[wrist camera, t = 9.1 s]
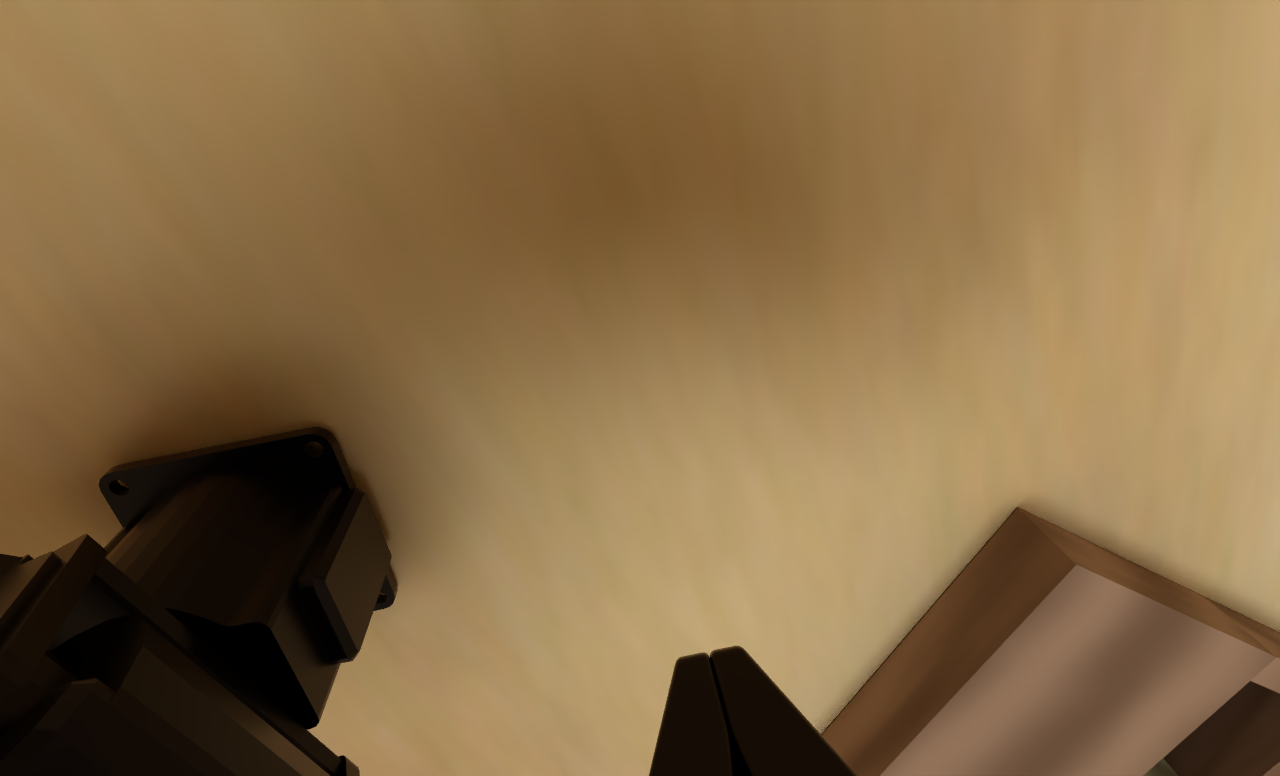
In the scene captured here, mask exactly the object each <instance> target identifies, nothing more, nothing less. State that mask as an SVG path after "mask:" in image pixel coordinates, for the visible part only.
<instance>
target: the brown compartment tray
mask: <svg viewBox="0 0 1280 776" xmlns="http://www.w3.org/2000/svg"><path fill="white" fill-rule="evenodd" d="M821 736H822V737H823V738H824V739H825V740H826V741H827V742H828V743H829V745H830V746H831V747H832V748H833V749H834V750H835V751H836V752H837V753H838V755H839V756H840V757H841V758H842V759H843V760H844V761H845V762H846V764H847V765H848V766H849V767H850V768H851V769H852V770H853V771H854V773H855V774H856V775H857V776H1280V633H1278V632H1276V631H1274V630H1272V629H1270V628H1268V627H1266V626H1264V625H1262V624H1260V623H1258V622H1255V621H1253V620H1251V619H1249V618H1247V617H1245V616H1243V615H1241V614H1239V613H1237V612H1235V611H1233V610H1230V609H1228V608H1226V607H1224V606H1222V605H1220V604H1218V603H1216V602H1214V601H1212V600H1210V599H1207V598H1205V597H1203V596H1201V595H1199V594H1197V593H1195V592H1193V591H1191V590H1189V589H1187V588H1185V587H1182V586H1180V585H1178V584H1176V583H1174V582H1172V581H1170V580H1168V579H1166V578H1164V577H1162V576H1159V575H1157V574H1155V573H1153V572H1151V571H1149V570H1147V569H1145V568H1143V567H1141V566H1139V565H1137V564H1134V563H1132V562H1130V561H1128V560H1126V559H1124V558H1122V557H1120V556H1118V555H1116V554H1114V553H1111V552H1109V551H1107V550H1105V549H1103V548H1101V547H1099V546H1097V545H1095V544H1093V543H1091V542H1088V541H1086V540H1084V539H1082V538H1080V537H1078V536H1076V535H1074V534H1072V533H1070V532H1068V531H1066V530H1063V529H1061V528H1059V527H1057V526H1055V525H1053V524H1051V523H1049V522H1047V521H1045V520H1043V519H1040V518H1038V517H1036V516H1034V515H1032V514H1030V513H1028V512H1026V511H1024V510H1022V509H1020V508H1017V509H1016V510H1015V512H1014V513H1013V514H1012V515H1011V516H1010V517H1009V518H1008V520H1007V521H1006V522H1005V523H1004V524H1003V525H1002V527H1001V528H1000V529H999V530H998V531H997V532H996V534H995V535H994V536H993V537H992V538H991V539H990V541H989V542H988V543H987V544H986V545H985V546H984V547H983V549H982V550H981V551H980V552H979V553H978V554H977V556H976V557H975V558H974V559H973V560H972V561H971V563H970V564H969V565H968V566H967V567H966V568H965V570H964V571H963V572H962V573H961V574H960V575H959V576H958V578H957V579H956V580H955V581H954V582H953V583H952V585H951V586H950V587H949V588H948V589H947V590H946V592H945V593H944V594H943V595H942V596H941V597H940V599H939V600H938V601H937V602H936V603H935V604H934V605H933V607H932V608H931V609H930V610H929V611H928V612H927V614H926V615H925V616H924V617H923V618H922V619H921V621H920V622H919V623H918V624H917V625H916V626H915V628H914V629H913V630H912V631H911V632H910V633H909V634H908V636H907V637H906V638H905V639H904V640H903V641H902V643H901V644H900V645H899V646H898V647H897V648H896V650H895V651H894V652H893V653H892V654H891V655H890V657H889V658H888V659H887V660H886V661H885V662H884V663H883V665H882V666H881V667H880V668H879V669H878V670H877V672H876V673H875V674H874V675H873V676H872V677H871V679H870V680H869V681H868V682H867V683H866V684H865V686H864V687H863V688H862V689H861V690H860V691H859V692H858V694H857V695H856V696H855V697H854V698H853V699H852V701H851V702H850V703H849V704H848V705H847V706H846V708H845V709H844V710H843V711H842V712H841V713H840V715H839V716H838V717H837V718H836V719H835V720H834V721H833V723H832V724H831V725H830V726H829V727H828V728H827V730H826V731H825V732H824V733H823V734H822V735H821Z"/></svg>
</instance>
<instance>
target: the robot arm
mask: <svg viewBox="0 0 1280 776" xmlns="http://www.w3.org/2000/svg"><path fill="white" fill-rule="evenodd" d="M309 442H317V443H319V444H321V445H322V447H323V450H316V449H314V448H312V447H311V445H310V443H309ZM117 480H120V481H122V482H125V483H126V484H127V485H128V488H127V487H124V486H121V485H120V484H119V483H118V481H117ZM99 487H100V490H101V492H102V494H103V496H104V497H105V499H106V500H107V502H108V504H109V505H110V507H111V509H112V510H113V512H114V514H115V515H116V517H117V518H118V520H119V522H120V523H121V525H122V527H123V529H122V530H121V531H120V532H119V533H118V534H117V535H116V536H115V537H114V538H113V539H112V540H111V541H110V542H109V543H108V544H107V546H106V547H105V548H103V547H102V546H100V545H99V544H98V543H97V542H96V541H95V540H93V539H92V538H91V537H90V536H89V535H88V534H85V535H83V536H81V537H79V538H77V539H76V540H74V541H72V542H70V543H68V544H67V545H65V546H63V547H61V548H59V549H58V550H56V551H54V552H48V553H46V554H44V555H42V556H40V557H37V558H35V559H33V558H32V557H31V556H30V555H26V556H24V557H17V556H11V555H4V554H0V776H360V775H359V768H358V767H357V766H356V765H355V764H353V763H352V762H351V761H350V760H349V759H348V758H346V757H345V756H343V755H342V756H339V757H338V756H337V755H335V754H334V753H333V752H332V751H331V750H330V749H328V748H327V747H326V746H325V745H324V744H323V743H321V742H320V741H319V740H318V739H317V738H316V737H314V736H313V735H312V734H311V733H310V732H309V731H307V729H311V728H313V727H316V726H317V724H318V723H319V721H320V718H321V716H322V713H323V710H324V707H325V705H326V702H327V699H328V696H329V694H330V691H331V688H332V685H333V683H334V680H335V677H336V675H337V672H338V669H339V666H340V664H341V663H345V662H350V661H353V660H354V658H355V657H356V655H357V654H358V653H359V651H360V649H361V646H362V643H363V640H364V637H365V634H366V631H367V628H368V625H369V622H370V619H371V616H372V614H373V611H376V610H381V609H385V608H387V607H390V606H391V605H392V604H393V602H394V600H395V597H396V593H397V585H396V582H395V580H394V577H393V575H392V573H391V570H390V568H389V564H390V561H391V554H390V551H389V549H388V546H387V544H386V541H385V539H384V536H383V534H382V532H381V529H380V527H379V524H378V522H377V519H376V517H375V515H374V512H373V510H372V507H371V505H370V502H369V500H368V498H367V495H366V493H364V492H363V491H361V490H360V489H359V488H356V486H355V484H354V481H353V479H352V476H351V474H350V472H349V469H348V467H347V464H346V462H345V460H344V457H343V455H342V452H341V450H340V448H339V445H338V443H337V440H336V438H335V437H334V435H333V434H332V433H331V432H329V431H328V430H327V429H323V428H320V427H312V428H307V429H302V430H297V431H291V432H286V433H281V434H276V435H271V436H266V437H261V438H256V439H251V440H245V441H240V442H235V443H230V444H225V445H220V446H215V447H210V448H204V449H199V450H194V451H189V452H184V453H179V454H174V455H169V456H164V457H158V458H153V459H148V460H143V461H138V462H133V463H128V464H123V465H118V466H115V467H113V468H111V469H110V470H109V471H108V472H107V473H106V474H105V475H104V476H103V477H102V478H101V479H100V482H99ZM380 591H382V592H384V593H385V594H384V595H380V594H379V593H380ZM649 776H857V775H856V774H855V773H854V771H853V770H852V769H851V768H850V767H849V766H848V765H847V764H846V762H845V761H844V760H843V759H842V758H841V757H840V756H839V755H838V753H837V752H836V751H835V750H834V749H833V748H832V747H831V746H830V745H829V743H828V742H827V741H826V740H825V739H824V738H823V737H822V736H821V734H820V733H819V732H818V731H817V730H816V729H815V728H814V727H813V726H812V724H811V723H810V722H809V721H808V720H807V719H806V718H805V717H804V715H803V714H802V713H801V712H800V711H799V710H798V709H797V708H796V707H795V705H794V704H793V703H792V702H791V701H790V700H789V699H788V698H787V696H786V695H785V694H784V693H783V692H782V691H781V690H780V689H779V688H778V686H777V685H776V684H775V683H774V682H773V681H772V680H771V679H770V677H769V676H768V675H767V674H766V673H765V672H764V671H763V670H762V669H761V667H760V666H759V665H758V664H757V663H756V662H755V661H754V660H753V658H752V657H751V656H750V655H749V654H748V653H747V652H746V651H745V650H744V649H743V648H742V647H740V646H732V647H727V648H722V649H717V650H714V651H712V652H711V654H710V657H709V655H708V654H707V653H698V654H693V655H688V656H683V657H680V658H679V659H678V660H677V661H676V663H675V667H674V671H673V676H672V680H671V684H670V688H669V693H668V697H667V701H666V705H665V710H664V714H663V718H662V722H661V727H660V731H659V735H658V739H657V743H656V748H655V752H654V756H653V760H652V765H651V769H650V773H649Z"/></svg>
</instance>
